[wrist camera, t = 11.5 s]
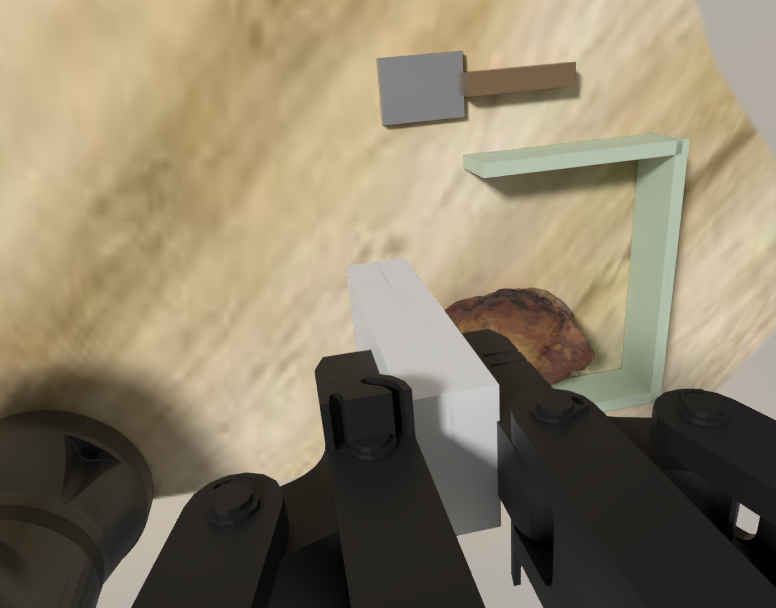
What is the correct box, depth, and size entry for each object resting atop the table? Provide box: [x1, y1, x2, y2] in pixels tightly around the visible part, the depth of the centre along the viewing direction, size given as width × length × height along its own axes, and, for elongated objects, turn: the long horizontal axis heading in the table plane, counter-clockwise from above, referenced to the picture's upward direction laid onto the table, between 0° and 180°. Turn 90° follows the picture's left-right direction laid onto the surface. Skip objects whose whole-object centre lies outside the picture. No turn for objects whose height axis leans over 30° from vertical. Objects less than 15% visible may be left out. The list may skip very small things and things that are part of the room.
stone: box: [444, 288, 595, 385], centre depth 48 cm, size 15×9×5 cm, turn 113°
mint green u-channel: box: [463, 133, 689, 412], centre depth 47 cm, size 16×22×4 cm
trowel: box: [376, 51, 576, 125], centre depth 41 cm, size 14×4×2 cm, turn 95°
